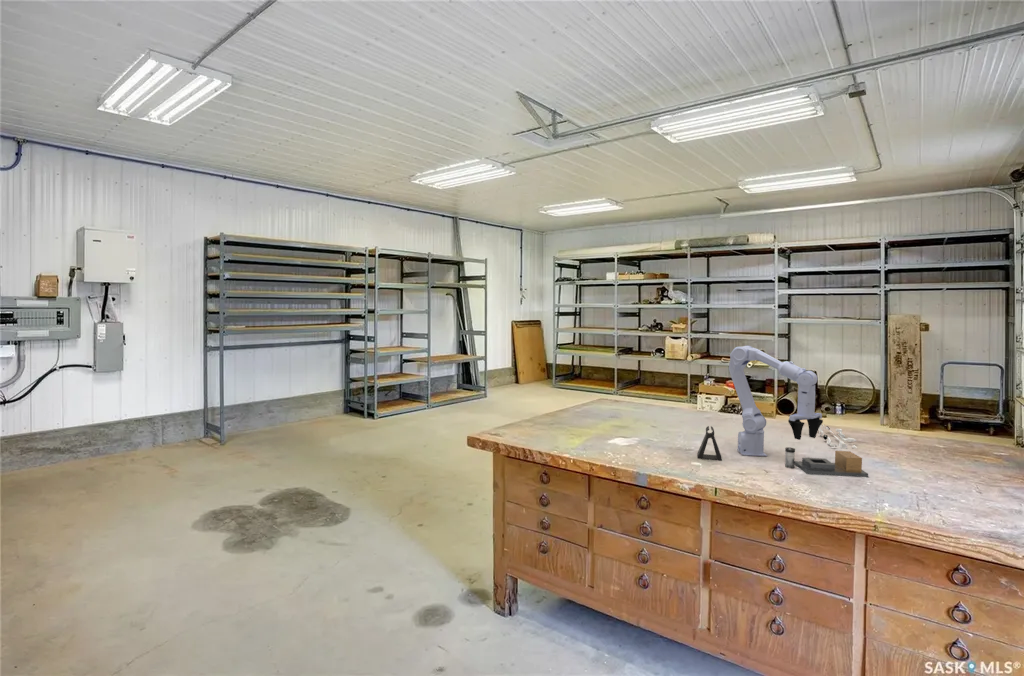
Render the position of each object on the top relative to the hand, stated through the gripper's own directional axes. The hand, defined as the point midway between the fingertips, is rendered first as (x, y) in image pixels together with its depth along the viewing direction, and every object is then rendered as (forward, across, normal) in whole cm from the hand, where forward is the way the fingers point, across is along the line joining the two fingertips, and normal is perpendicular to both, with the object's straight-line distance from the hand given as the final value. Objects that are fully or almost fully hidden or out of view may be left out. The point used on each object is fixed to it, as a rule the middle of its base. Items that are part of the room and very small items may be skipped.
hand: (804, 438), depth 200 cm
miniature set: (+10, +44, +21) cm, 50 cm away
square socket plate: (+10, +1, -10) cm, 14 cm away
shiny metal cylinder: (+10, -9, -2) cm, 14 cm away
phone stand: (+10, -29, +18) cm, 36 cm away
